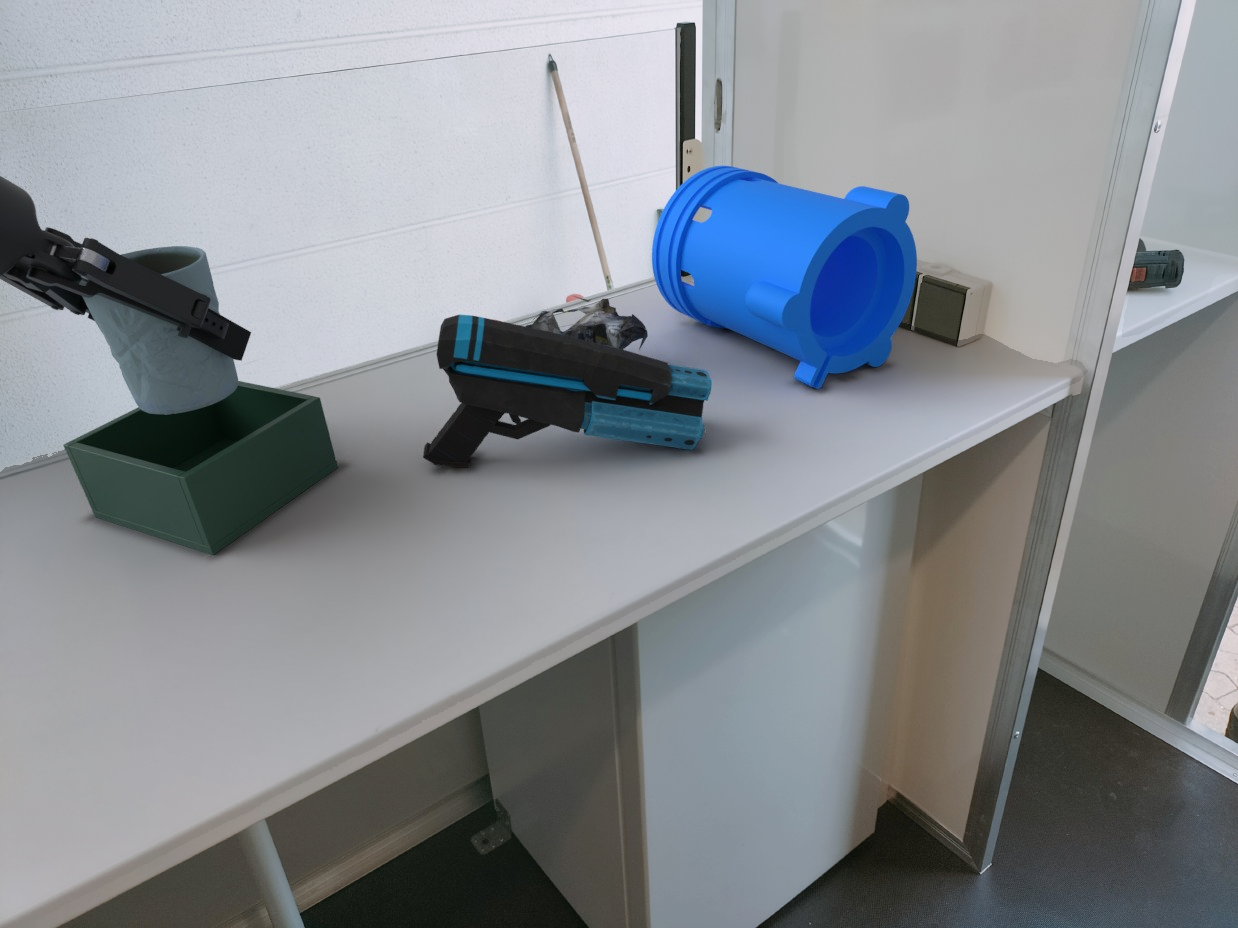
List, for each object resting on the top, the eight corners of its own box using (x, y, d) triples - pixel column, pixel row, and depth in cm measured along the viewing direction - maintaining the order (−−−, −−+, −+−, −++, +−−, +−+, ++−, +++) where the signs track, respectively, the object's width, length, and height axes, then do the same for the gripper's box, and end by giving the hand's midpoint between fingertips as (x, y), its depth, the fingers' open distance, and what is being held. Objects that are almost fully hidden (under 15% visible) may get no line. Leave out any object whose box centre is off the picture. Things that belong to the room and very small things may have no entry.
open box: (95, 517, 79) (62, 444, 75) (226, 440, 91) (204, 373, 87) (213, 555, 73) (184, 478, 69) (338, 467, 85) (320, 397, 81)
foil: (532, 319, 108) (615, 267, 98) (575, 394, 109) (660, 350, 99) (473, 349, 99) (557, 295, 89) (520, 429, 101) (608, 385, 91)
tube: (728, 343, 118) (624, 302, 106) (795, 190, 114) (695, 129, 101) (864, 406, 100) (757, 366, 87) (951, 228, 95) (851, 158, 83)
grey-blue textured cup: (235, 409, 73) (191, 273, 67) (109, 427, 72) (53, 289, 65) (253, 363, 82) (215, 239, 76) (141, 378, 80) (93, 253, 74)
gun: (685, 510, 86) (727, 377, 79) (419, 478, 80) (438, 330, 73) (672, 470, 93) (709, 343, 85) (425, 437, 87) (443, 299, 80)
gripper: (-179, 247, 60) (98, 364, 80) (35, 271, 52) (282, 394, 72) (-135, 153, 61) (125, 291, 82) (79, 162, 53) (309, 313, 74)
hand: (199, 339), depth 77 cm, fingers closed on grey-blue textured cup, 10 cm apart
